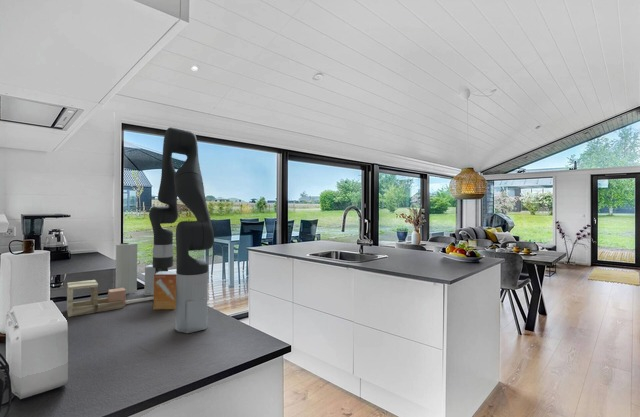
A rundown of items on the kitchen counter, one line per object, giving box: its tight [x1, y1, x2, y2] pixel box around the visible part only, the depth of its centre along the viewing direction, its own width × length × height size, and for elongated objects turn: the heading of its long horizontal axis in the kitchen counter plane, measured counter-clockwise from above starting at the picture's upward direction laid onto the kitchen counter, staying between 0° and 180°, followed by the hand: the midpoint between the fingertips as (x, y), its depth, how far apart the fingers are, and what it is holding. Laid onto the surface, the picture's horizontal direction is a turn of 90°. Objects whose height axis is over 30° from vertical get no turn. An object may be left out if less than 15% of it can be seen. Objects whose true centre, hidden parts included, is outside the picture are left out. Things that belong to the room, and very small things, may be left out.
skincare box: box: [143, 264, 155, 296], centre depth 139 cm, size 6×4×12 cm
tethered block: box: [107, 288, 154, 307], centre depth 126 cm, size 5×20×6 cm, turn 131°
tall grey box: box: [114, 242, 138, 295], centre depth 138 cm, size 7×6×21 cm
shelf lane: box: [66, 279, 124, 318], centre depth 117 cm, size 9×16×10 cm, turn 130°
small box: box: [152, 270, 176, 310], centre depth 121 cm, size 8×6×13 cm
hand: (162, 295), depth 132 cm, fingers open, 8 cm apart
